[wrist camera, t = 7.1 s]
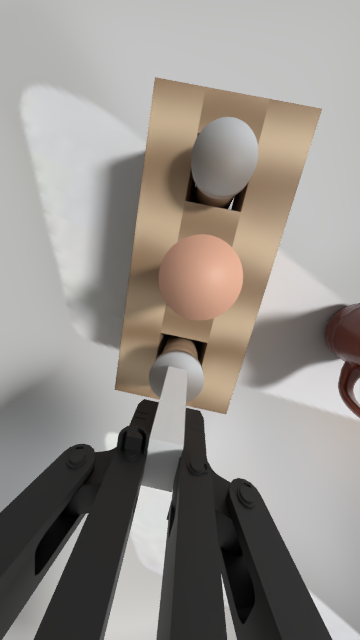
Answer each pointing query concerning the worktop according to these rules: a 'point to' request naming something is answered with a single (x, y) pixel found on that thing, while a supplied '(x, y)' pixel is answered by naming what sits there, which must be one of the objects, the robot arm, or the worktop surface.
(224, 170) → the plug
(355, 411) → the mug
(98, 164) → the worktop surface
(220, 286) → the plug mid
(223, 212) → the socket board
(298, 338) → the worktop surface
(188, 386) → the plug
